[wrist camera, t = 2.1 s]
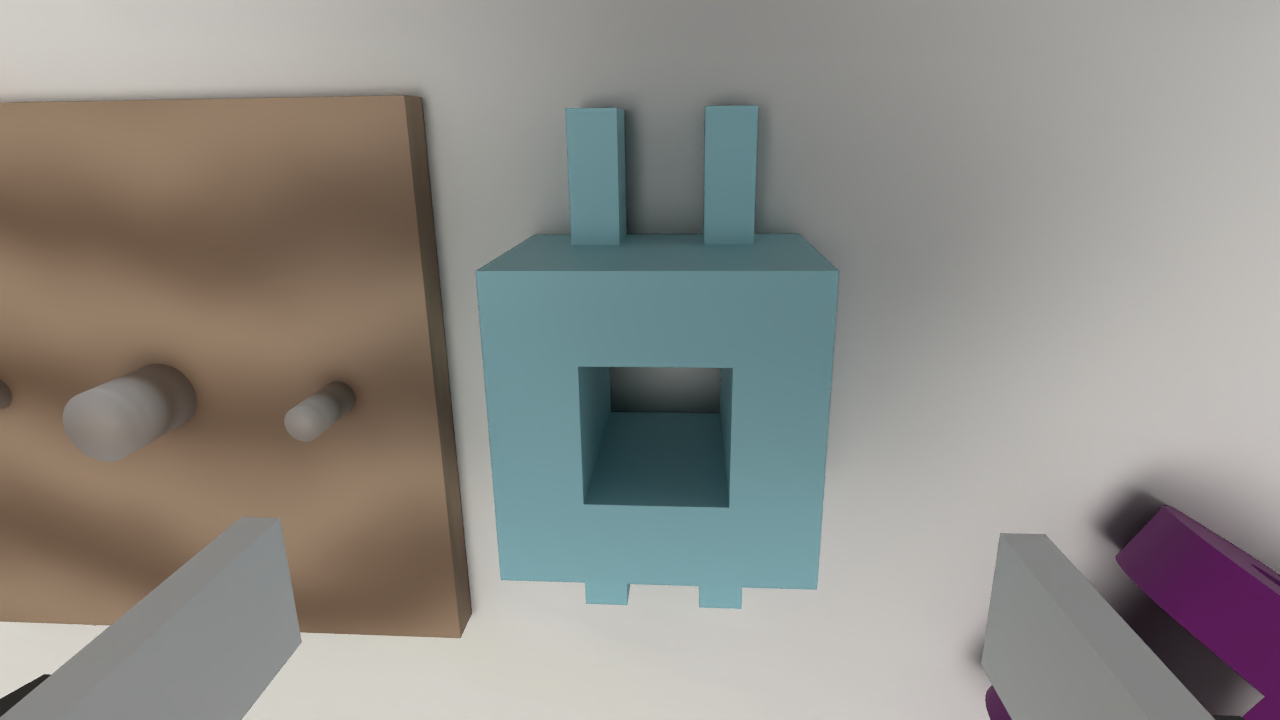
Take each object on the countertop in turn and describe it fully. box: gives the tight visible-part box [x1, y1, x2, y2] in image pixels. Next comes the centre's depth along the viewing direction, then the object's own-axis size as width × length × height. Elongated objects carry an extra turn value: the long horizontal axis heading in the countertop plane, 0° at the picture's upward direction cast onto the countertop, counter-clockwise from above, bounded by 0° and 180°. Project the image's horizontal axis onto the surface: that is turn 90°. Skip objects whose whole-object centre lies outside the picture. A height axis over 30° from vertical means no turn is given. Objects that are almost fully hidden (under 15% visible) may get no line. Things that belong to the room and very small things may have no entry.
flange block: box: [476, 105, 839, 609], centre depth 22 cm, size 17×9×7 cm, turn 1°
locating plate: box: [0, 95, 472, 638], centre depth 25 cm, size 20×20×4 cm
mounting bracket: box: [985, 505, 1280, 720], centre depth 26 cm, size 10×8×18 cm
